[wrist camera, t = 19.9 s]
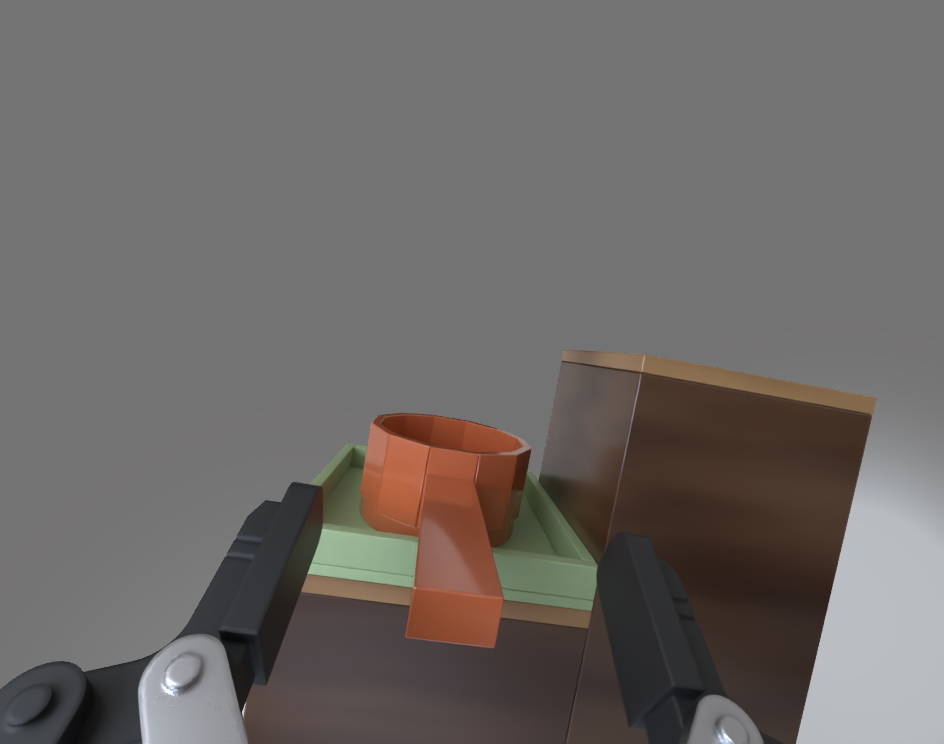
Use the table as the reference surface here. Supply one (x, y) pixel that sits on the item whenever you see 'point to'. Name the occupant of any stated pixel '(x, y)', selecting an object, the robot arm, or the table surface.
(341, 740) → the stand
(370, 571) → the tray
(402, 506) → the saucepan
